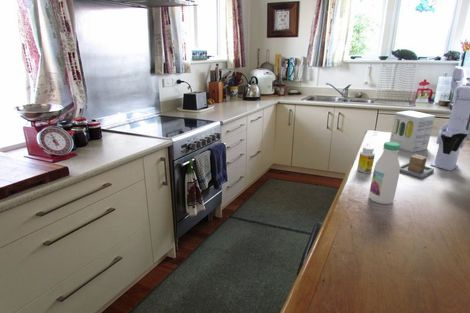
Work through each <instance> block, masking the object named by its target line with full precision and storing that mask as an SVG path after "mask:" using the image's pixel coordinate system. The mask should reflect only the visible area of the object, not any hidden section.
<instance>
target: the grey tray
mask: <svg viewBox="0 0 470 313" xmlns="http://www.w3.org/2000/svg"><path fill="white" fill-rule="evenodd" d="M409 162H410V161H407V162H405V163H404V164H400V174H401V173H402V174H404V175H407V176H410V177H414V178H417V179H421V180H423V179H424V178H426V177H427V176H429V175H431V174H432V173H434V171H435V168H433V167H430V166H426V165H425V168H424V171H422V172H421V173H416V172H413V171H410V170H408V166H409Z"/></svg>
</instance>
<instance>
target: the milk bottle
mask: <svg viewBox="0 0 470 313" xmlns="http://www.w3.org/2000/svg"><path fill="white" fill-rule="evenodd" d="M399 152H400V145H399V144H398V143H394V142H390V141H385V142H384V144H383V152H382V153H381V154H380V156H379V158H378V159H377V161H376V162H375V165H374V168H373V172H372V178H371V183H370V187H369V193H368V198H369V199H370V200H371V201H373V203H374V202H375V203H377V204H381V205H389V204H390V205H391V204H393V202H394V201H395V200H394V199H395V196H396V195H395V194H396V191H397V186H398V182H399V179H400V178H399V177H400V174H401V172H400V166H401V164H400V160H399V156H398V154H399Z"/></svg>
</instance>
